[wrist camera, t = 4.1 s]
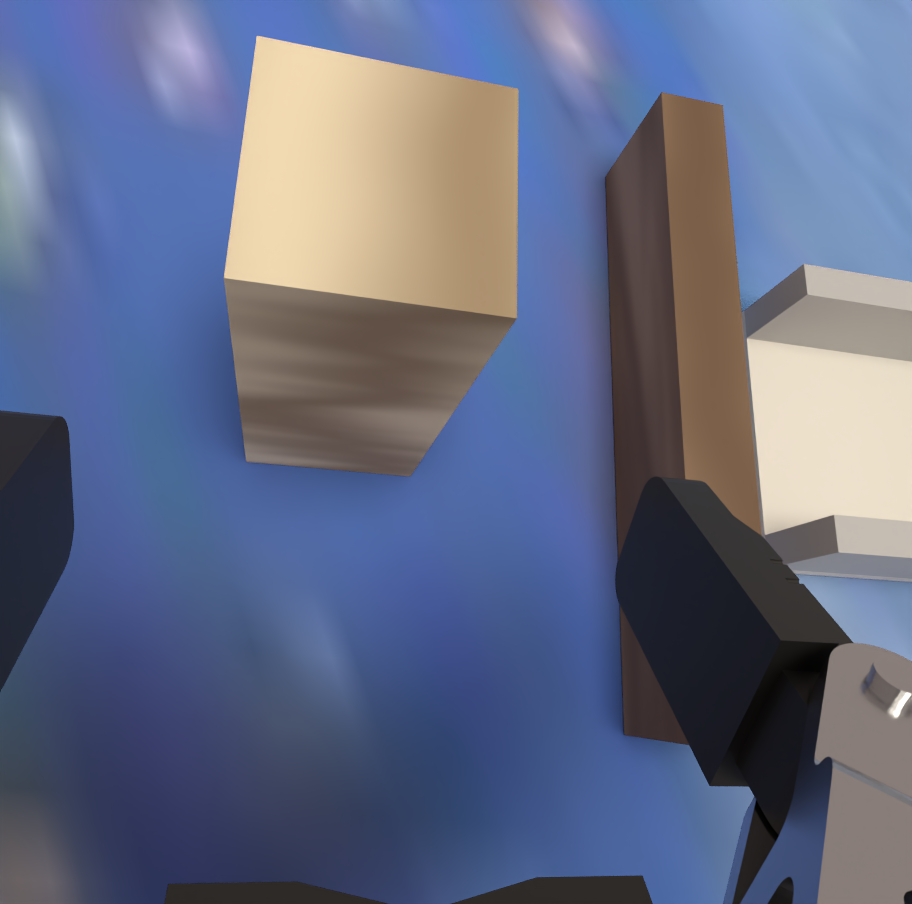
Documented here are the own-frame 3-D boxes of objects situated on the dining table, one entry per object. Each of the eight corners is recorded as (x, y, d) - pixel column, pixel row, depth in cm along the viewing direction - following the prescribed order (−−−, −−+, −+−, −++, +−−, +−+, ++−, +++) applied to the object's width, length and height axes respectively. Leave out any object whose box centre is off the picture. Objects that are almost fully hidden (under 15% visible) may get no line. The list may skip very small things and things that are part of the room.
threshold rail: (624, 735, 21) (701, 746, 17) (605, 176, 26) (661, 92, 22) (690, 736, 21) (781, 748, 17) (659, 186, 26) (722, 105, 23)
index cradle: (755, 571, 23) (838, 552, 20) (733, 318, 25) (803, 263, 22) (974, 586, 25) (1084, 571, 21) (933, 348, 27) (1026, 301, 24)
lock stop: (246, 461, 20) (223, 277, 11) (263, 312, 22) (256, 36, 12) (410, 476, 21) (516, 318, 12) (417, 332, 23) (518, 88, 13)
